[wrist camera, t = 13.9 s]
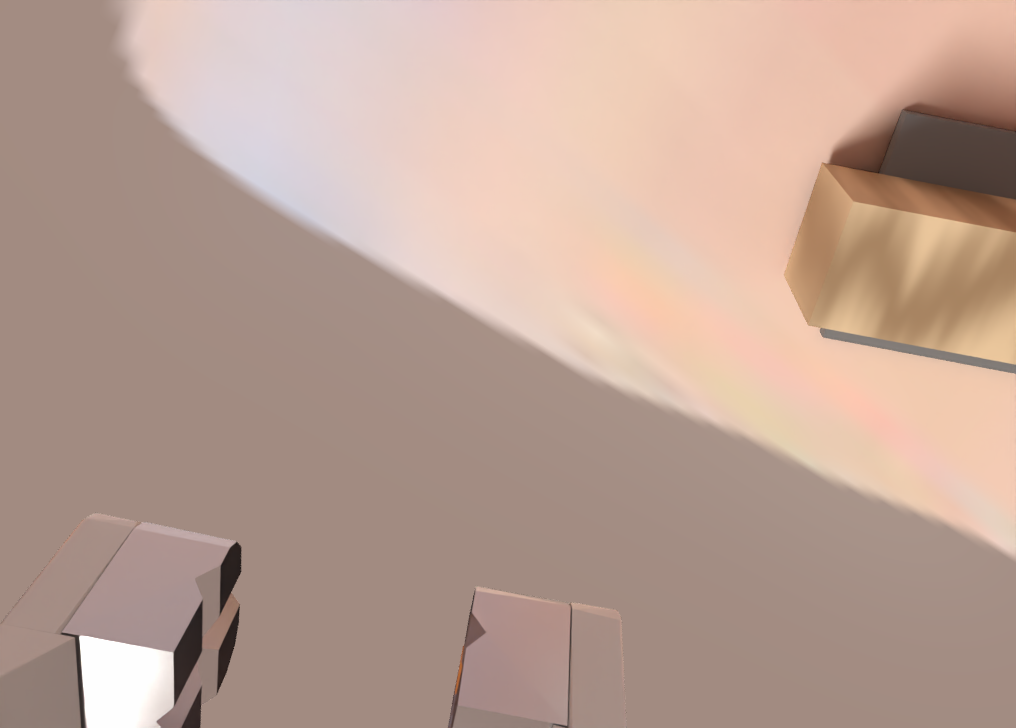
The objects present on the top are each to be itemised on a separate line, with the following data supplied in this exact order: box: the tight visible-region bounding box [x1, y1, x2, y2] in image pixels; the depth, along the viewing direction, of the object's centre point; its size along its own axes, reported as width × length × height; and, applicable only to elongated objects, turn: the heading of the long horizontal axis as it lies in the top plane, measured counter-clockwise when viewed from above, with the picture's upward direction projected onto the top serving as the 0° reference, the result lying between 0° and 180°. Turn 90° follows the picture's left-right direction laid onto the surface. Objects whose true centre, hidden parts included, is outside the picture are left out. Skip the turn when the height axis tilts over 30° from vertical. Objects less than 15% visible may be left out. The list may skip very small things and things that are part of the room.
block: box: [784, 163, 1016, 365], centre depth 36 cm, size 5×5×15 cm
